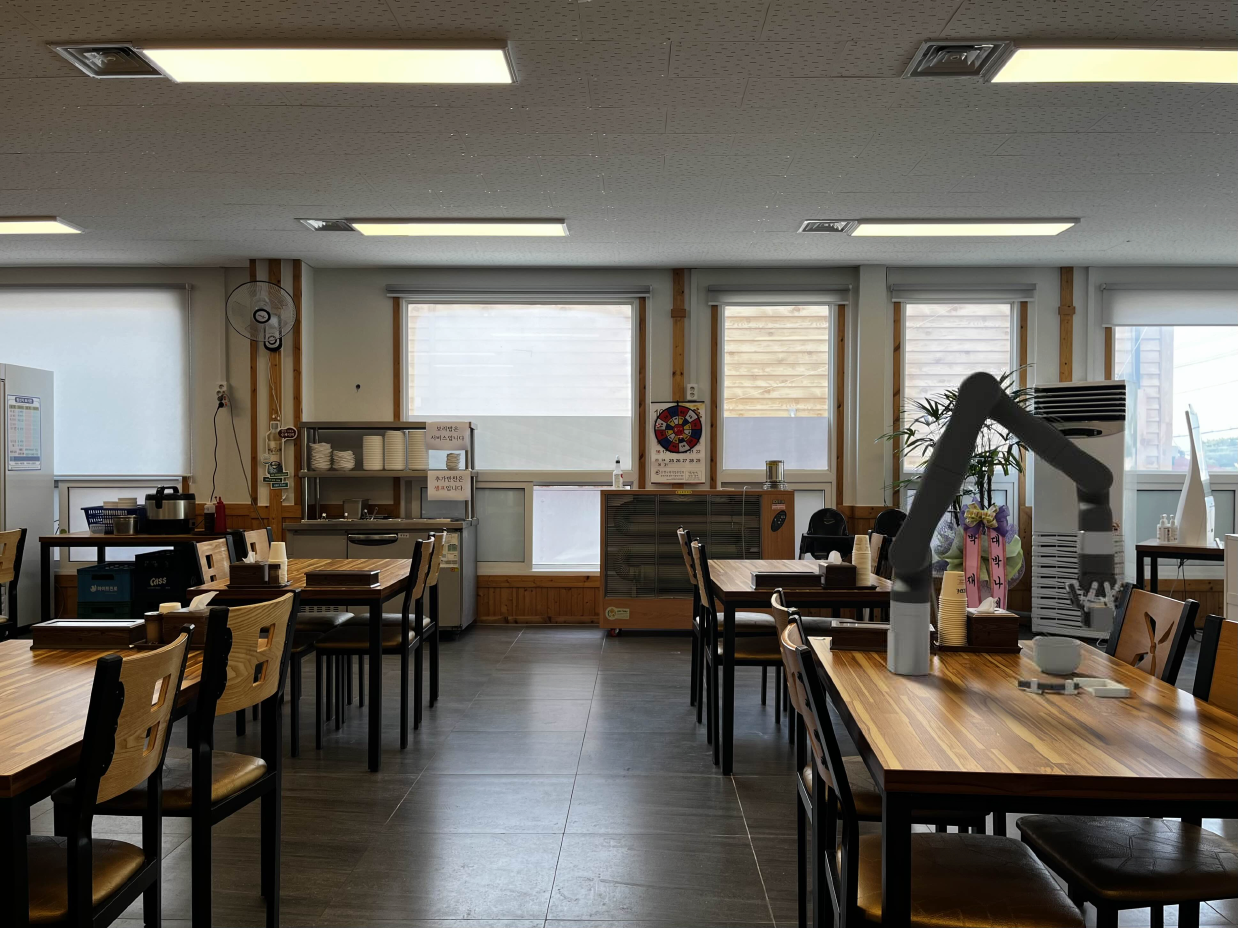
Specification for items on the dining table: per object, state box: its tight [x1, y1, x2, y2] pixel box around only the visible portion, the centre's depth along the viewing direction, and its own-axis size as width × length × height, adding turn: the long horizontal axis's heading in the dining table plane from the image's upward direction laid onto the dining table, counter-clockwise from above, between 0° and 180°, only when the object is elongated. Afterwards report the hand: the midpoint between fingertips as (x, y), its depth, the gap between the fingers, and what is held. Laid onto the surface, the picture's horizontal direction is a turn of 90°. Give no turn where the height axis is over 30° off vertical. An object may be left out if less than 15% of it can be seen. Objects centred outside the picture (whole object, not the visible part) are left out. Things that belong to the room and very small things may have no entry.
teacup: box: [1031, 636, 1082, 676], centre depth 226 cm, size 14×11×8 cm
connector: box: [1081, 604, 1114, 632], centre depth 204 cm, size 4×6×5 cm, turn 178°
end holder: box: [1073, 677, 1131, 698], centre depth 203 cm, size 8×10×2 cm
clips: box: [1025, 678, 1078, 696], centre depth 203 cm, size 11×6×3 cm, turn 88°
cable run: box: [1017, 679, 1080, 692], centre depth 203 cm, size 13×4×1 cm, turn 88°
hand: (1097, 627), depth 204 cm, fingers closed on connector, 4 cm apart
